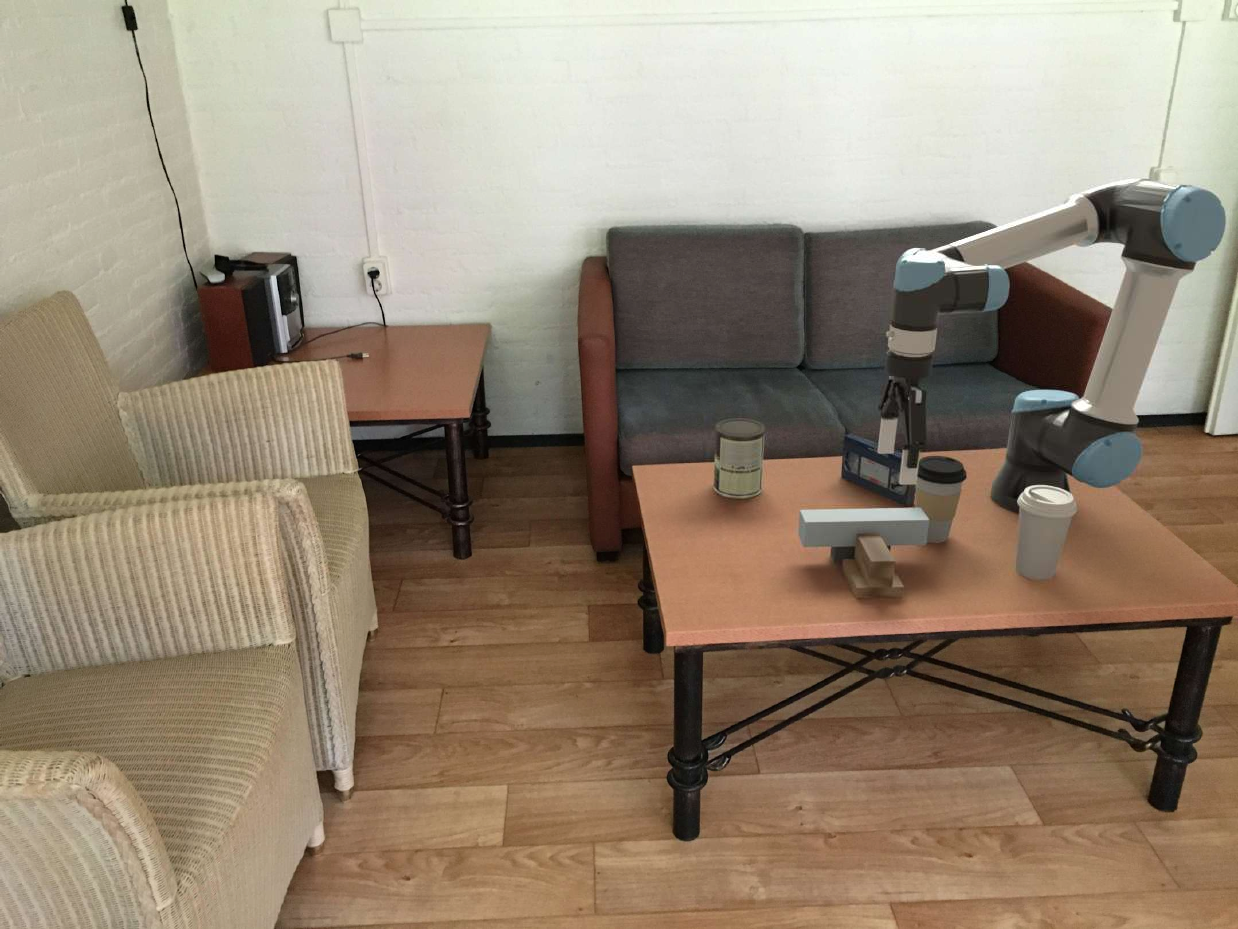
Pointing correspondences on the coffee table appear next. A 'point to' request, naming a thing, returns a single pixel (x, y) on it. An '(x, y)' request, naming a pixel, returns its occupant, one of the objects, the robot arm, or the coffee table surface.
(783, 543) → the coffee table surface
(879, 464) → the vhs cassette tape
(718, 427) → the coffee can
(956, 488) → the coffee cup
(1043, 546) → the coffee cup
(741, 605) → the coffee table surface
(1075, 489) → the coffee table surface
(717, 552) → the coffee table surface
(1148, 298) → the robot arm
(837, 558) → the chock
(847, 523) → the beam
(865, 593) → the fulcrum
